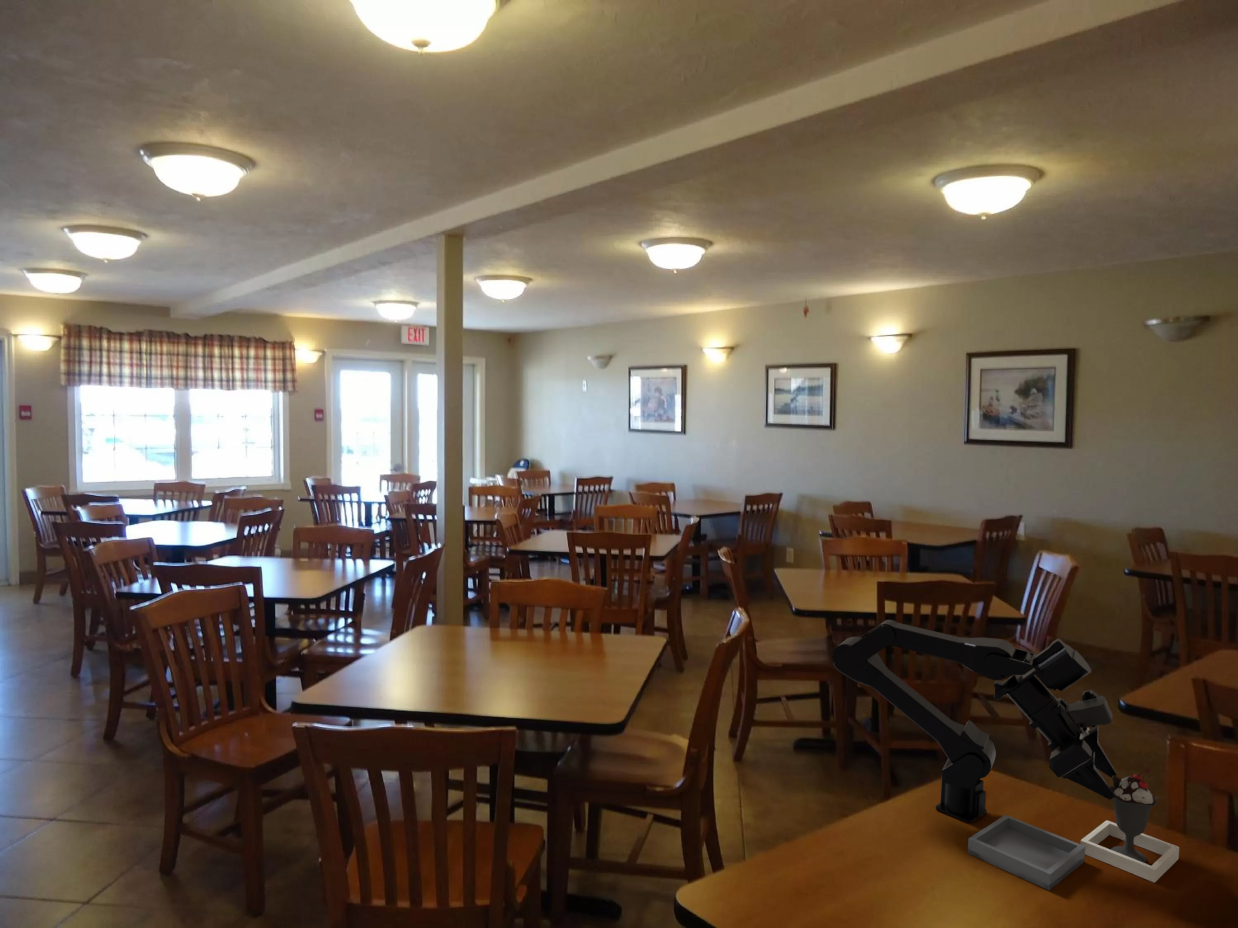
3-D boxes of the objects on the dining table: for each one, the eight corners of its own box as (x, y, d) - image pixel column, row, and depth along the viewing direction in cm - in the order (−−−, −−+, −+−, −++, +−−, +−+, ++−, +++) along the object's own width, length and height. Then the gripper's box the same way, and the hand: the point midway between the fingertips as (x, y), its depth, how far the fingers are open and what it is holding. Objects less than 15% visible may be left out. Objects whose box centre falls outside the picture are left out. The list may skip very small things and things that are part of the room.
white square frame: (1079, 851, 131) (1080, 840, 131) (1105, 831, 138) (1106, 819, 138) (1154, 882, 123) (1155, 869, 123) (1178, 858, 130) (1179, 846, 129)
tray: (967, 853, 130) (968, 838, 130) (1005, 828, 138) (1005, 814, 138) (1049, 890, 120) (1050, 874, 120) (1084, 861, 128) (1085, 846, 128)
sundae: (1161, 869, 126) (1167, 776, 125) (1114, 863, 128) (1119, 771, 127) (1143, 847, 133) (1148, 758, 132) (1098, 842, 134) (1103, 754, 133)
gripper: (1076, 695, 125) (1158, 783, 120) (1084, 664, 141) (1157, 740, 135) (1018, 733, 130) (1094, 819, 124) (1031, 699, 145) (1100, 774, 140)
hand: (1113, 786), depth 131 cm, fingers open, 9 cm apart
